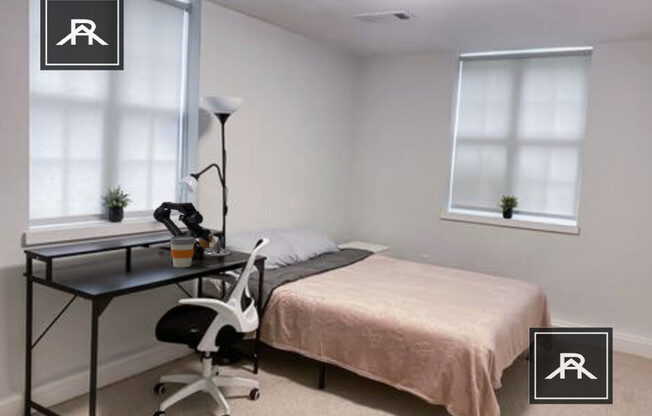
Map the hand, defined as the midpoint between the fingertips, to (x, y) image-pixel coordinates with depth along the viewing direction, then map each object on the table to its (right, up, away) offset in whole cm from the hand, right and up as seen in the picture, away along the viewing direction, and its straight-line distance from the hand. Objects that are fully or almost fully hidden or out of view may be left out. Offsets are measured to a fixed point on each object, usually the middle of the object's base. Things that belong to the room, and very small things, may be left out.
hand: (208, 242), depth 301 cm
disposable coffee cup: (-8, -7, +26) cm, 28 cm away
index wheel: (+3, -8, +10) cm, 13 cm away
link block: (0, -5, +13) cm, 14 cm away
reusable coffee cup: (-10, -12, -19) cm, 24 cm away
